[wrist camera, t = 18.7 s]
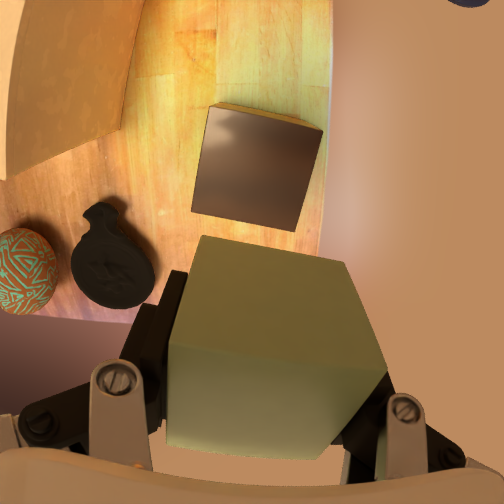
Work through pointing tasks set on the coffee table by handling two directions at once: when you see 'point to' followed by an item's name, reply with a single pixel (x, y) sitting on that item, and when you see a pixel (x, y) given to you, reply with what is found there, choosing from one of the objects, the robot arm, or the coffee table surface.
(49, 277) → the decorative sphere
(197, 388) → the block
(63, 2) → the oven
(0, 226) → the coffee table surface
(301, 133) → the stand
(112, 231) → the oil lamp
